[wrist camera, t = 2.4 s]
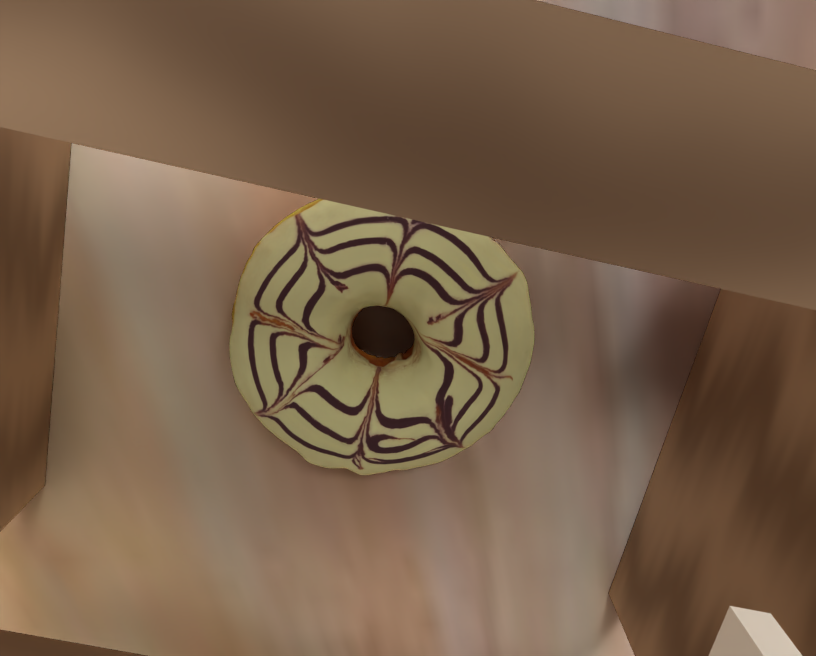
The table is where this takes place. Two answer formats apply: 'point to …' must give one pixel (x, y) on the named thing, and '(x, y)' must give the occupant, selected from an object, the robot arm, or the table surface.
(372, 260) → the decorated donut
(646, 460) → the table surface
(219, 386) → the table surface
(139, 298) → the table surface
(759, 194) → the box
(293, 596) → the table surface
